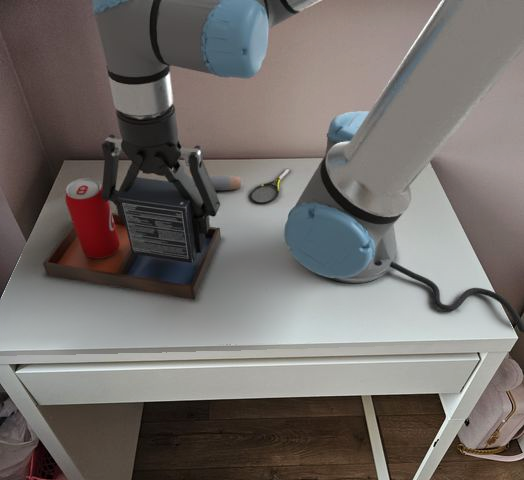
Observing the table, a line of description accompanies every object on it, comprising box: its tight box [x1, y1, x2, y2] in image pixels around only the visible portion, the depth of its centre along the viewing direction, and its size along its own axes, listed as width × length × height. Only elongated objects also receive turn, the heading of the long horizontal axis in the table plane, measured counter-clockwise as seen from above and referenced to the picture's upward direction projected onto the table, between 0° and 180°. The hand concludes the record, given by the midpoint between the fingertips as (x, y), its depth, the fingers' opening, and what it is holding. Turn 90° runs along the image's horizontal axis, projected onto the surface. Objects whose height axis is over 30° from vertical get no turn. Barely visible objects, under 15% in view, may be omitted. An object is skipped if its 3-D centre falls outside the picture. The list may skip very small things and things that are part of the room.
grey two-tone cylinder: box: [187, 174, 242, 191], centre depth 99 cm, size 11×3×3 cm
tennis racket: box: [250, 168, 290, 205], centre depth 101 cm, size 12×1×5 cm
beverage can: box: [64, 177, 120, 258], centre depth 84 cm, size 6×6×12 cm
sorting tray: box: [42, 212, 222, 301], centre depth 87 cm, size 25×15×2 cm, turn 77°
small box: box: [119, 176, 197, 263], centre depth 80 cm, size 11×6×10 cm, turn 77°
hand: (167, 242), depth 84 cm, fingers closed on small box, 10 cm apart
